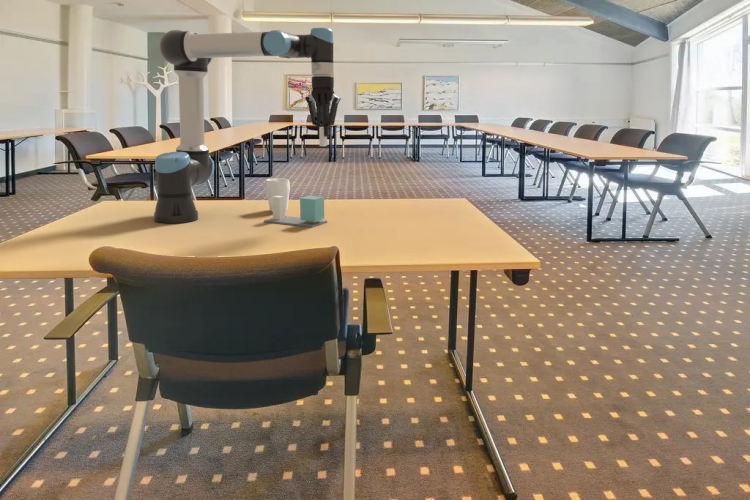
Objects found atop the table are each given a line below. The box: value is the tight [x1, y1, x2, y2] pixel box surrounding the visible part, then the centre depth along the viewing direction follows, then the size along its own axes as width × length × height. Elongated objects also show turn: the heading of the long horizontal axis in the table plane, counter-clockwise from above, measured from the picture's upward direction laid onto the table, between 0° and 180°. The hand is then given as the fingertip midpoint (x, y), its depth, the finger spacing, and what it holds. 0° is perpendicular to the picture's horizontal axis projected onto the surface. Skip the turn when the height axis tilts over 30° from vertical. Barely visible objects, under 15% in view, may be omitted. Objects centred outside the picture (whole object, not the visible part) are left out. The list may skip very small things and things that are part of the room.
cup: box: [265, 177, 291, 213], centre depth 243 cm, size 9×9×12 cm
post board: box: [263, 196, 328, 228], centre depth 222 cm, size 20×10×9 cm, turn 65°
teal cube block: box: [299, 195, 325, 222], centre depth 218 cm, size 6×6×8 cm
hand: (323, 145), depth 220 cm, fingers closed
